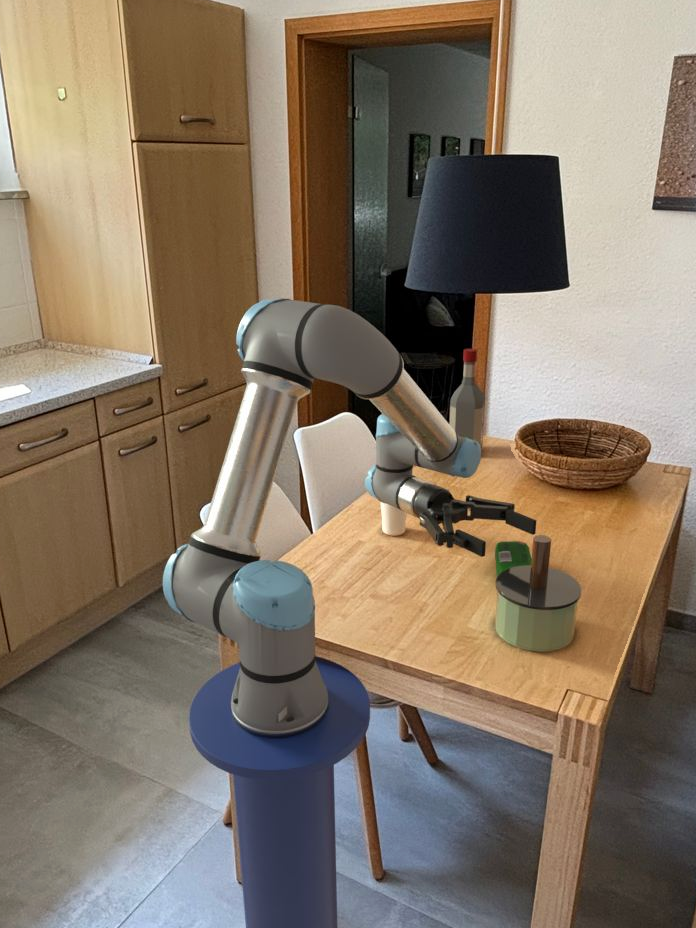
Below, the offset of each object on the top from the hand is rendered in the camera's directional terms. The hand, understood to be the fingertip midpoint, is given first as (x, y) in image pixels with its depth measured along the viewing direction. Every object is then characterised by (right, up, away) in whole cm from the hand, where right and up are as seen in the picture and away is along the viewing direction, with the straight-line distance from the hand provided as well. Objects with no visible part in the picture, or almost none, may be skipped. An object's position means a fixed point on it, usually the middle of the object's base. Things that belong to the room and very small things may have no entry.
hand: (510, 538), depth 137 cm
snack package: (+5, -9, +20) cm, 22 cm away
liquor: (+5, +18, +88) cm, 90 cm away
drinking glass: (-19, -2, +39) cm, 43 cm away
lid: (+4, -9, -2) cm, 10 cm away
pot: (+4, -16, +1) cm, 17 cm away
